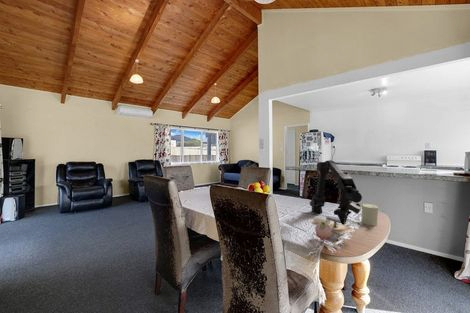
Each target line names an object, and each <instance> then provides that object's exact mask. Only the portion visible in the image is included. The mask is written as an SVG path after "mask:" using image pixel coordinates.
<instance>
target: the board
mask: <svg viewBox="0 0 470 313" xmlns="http://www.w3.org/2000/svg"><path fill="white" fill-rule="evenodd" d="M308 223H309V224H313V225H315V226H316V225H317V224H319V223H317V222H314V220H312V221H309V222H308ZM327 225H329V226H330V228H331V231H332V232H334V233H337V234H340V235H344V234H347V233H349V232H350V231H351V232H352V231H353V230H355V228H353V227H350V226H347V225H342V224H341V223H338V222H337V226H336V227H334V221H331V220H330V224H327Z"/></svg>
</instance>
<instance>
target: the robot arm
mask: <svg viewBox="0 0 470 313" xmlns="http://www.w3.org/2000/svg"><path fill="white" fill-rule="evenodd" d="M316 171H317V175H318V176H317V182H316V190H315V192H314V194H313V195H312V198H311V200H310V201H309V206H310V207H311V212H312V213H313V214H317V215H322V214H323V207H325V204H326V199H327V198H326V196H325V195H324V192H325V184H326V178H327V177H326V176H327V174H328V173H329V172H331V173H332V175H334V176H335V178H336V182H337V184H338V187H337V189H338V190H339V199H338V202H339V203H338V206H337V208H336V209H335V210H333V215H334V216H335V215H336V216H337V217H338V220H340V222H341V223H340V224H341V225H344V222H345V221H346V222H347V220H348V217H349V215H351V213H355V215H356V214H357V215H358V214H359V213H360V212H361V211H362V206H361V203H360V202H361V201H362V200H363V196H362V193H360V192H359V191H360V190H359V189H357V185H356V184H355V182H354V181H355V180H354V179H353V178H352V176H350V175H348V174H346V173H345V172H344V171H342V169H341V168H340V167H339V166H338V165H337V164H336V161H334V160H326V161H319V162H317V164H316ZM344 226H345V225H344Z"/></svg>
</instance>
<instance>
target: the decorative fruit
mask: <svg viewBox="0 0 470 313" xmlns="http://www.w3.org/2000/svg"><path fill="white" fill-rule="evenodd" d="M314 228H315V230H314V231H315V234H316V236H317V238H319V239H320V240H322V241H324V240H327V239H329V238H330V237H331V236H332V232H333V231H331V228H330V226H329V225H327V224H325V223H324V222H321V223H319V224H317V225H315V227H314Z"/></svg>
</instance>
